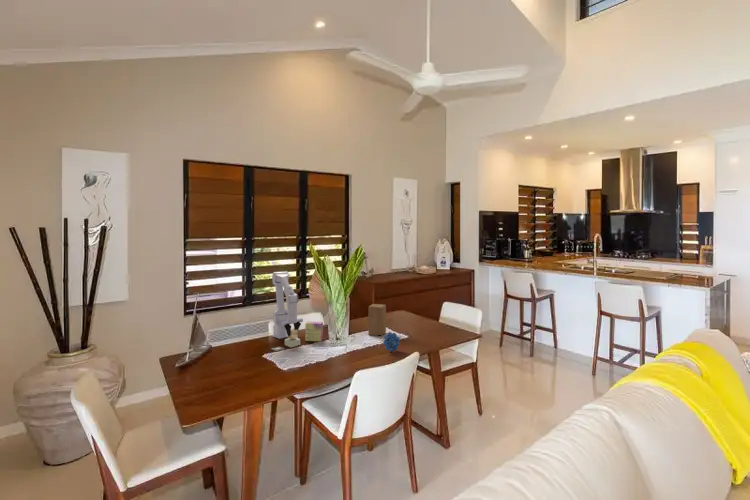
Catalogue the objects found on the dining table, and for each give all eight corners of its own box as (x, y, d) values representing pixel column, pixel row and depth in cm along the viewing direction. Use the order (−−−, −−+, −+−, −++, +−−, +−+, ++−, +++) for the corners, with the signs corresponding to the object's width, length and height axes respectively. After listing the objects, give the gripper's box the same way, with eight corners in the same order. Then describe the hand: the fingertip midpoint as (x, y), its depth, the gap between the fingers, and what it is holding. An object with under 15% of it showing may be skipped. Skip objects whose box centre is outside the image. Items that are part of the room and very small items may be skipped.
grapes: (387, 355, 218) (387, 335, 217) (381, 352, 223) (381, 332, 223) (403, 352, 224) (403, 332, 223) (397, 349, 229) (397, 329, 229)
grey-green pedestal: (284, 345, 237) (284, 339, 236) (294, 343, 242) (294, 336, 241) (290, 347, 232) (290, 341, 232) (300, 345, 237) (300, 339, 237)
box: (323, 339, 250) (322, 321, 249) (320, 341, 244) (320, 323, 243) (307, 338, 251) (307, 321, 250) (305, 341, 245) (305, 323, 244)
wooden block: (368, 335, 259) (368, 306, 258) (372, 331, 269) (372, 303, 268) (382, 336, 256) (382, 307, 255) (386, 332, 266) (386, 304, 265)
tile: (270, 349, 228) (270, 348, 228) (279, 347, 232) (279, 346, 232) (276, 351, 224) (276, 350, 224) (284, 349, 228) (284, 348, 228)
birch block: (287, 337, 236) (287, 329, 236) (293, 336, 239) (293, 328, 239) (291, 339, 233) (291, 331, 233) (297, 337, 236) (297, 329, 236)
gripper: (285, 316, 228) (285, 338, 228) (305, 312, 238) (305, 333, 239) (279, 314, 233) (279, 336, 233) (299, 311, 243) (299, 331, 244)
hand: (292, 334), depth 236 cm, fingers closed on birch block, 4 cm apart
